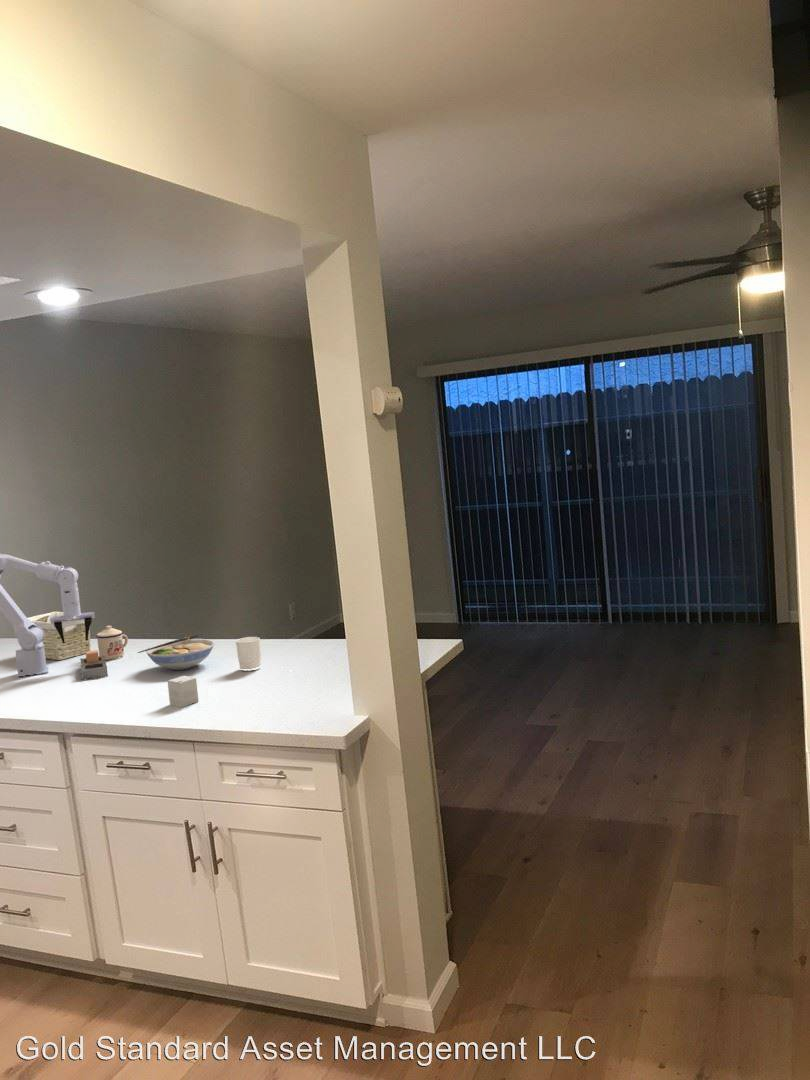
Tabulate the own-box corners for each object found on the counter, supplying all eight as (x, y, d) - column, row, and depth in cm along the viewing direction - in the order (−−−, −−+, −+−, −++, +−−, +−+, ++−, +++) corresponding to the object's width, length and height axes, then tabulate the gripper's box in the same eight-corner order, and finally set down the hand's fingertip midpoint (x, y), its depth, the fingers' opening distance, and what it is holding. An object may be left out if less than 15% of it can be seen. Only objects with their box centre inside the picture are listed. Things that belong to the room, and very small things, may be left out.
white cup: (265, 665, 303) (262, 636, 301) (259, 671, 295) (256, 641, 294) (242, 666, 303) (239, 637, 302) (235, 672, 296) (232, 642, 294)
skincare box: (186, 699, 269) (183, 675, 268) (199, 702, 265) (196, 677, 264) (169, 704, 264) (166, 680, 263) (182, 707, 260) (179, 682, 259)
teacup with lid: (109, 661, 325) (105, 629, 324) (93, 659, 331) (90, 627, 329) (136, 653, 335) (133, 622, 334) (121, 651, 340) (117, 621, 339)
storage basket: (21, 656, 344) (16, 618, 342) (59, 647, 357) (55, 610, 355) (57, 662, 330) (52, 623, 328) (96, 652, 343) (91, 614, 341)
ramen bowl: (174, 680, 291) (171, 655, 290) (130, 673, 305) (128, 649, 304) (232, 662, 311) (230, 638, 310) (189, 655, 325) (187, 633, 324)
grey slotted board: (107, 676, 303) (106, 667, 303) (82, 680, 301) (81, 671, 300) (105, 663, 322) (104, 655, 322) (81, 667, 319) (80, 658, 319)
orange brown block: (87, 670, 313) (85, 653, 313) (87, 668, 317) (85, 651, 316) (99, 669, 315) (98, 652, 314) (99, 666, 318) (97, 649, 318)
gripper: (48, 607, 308) (53, 646, 310) (93, 601, 313) (97, 640, 315) (48, 604, 315) (53, 642, 316) (92, 598, 320) (96, 636, 321)
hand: (75, 641), depth 316 cm, fingers open, 7 cm apart
